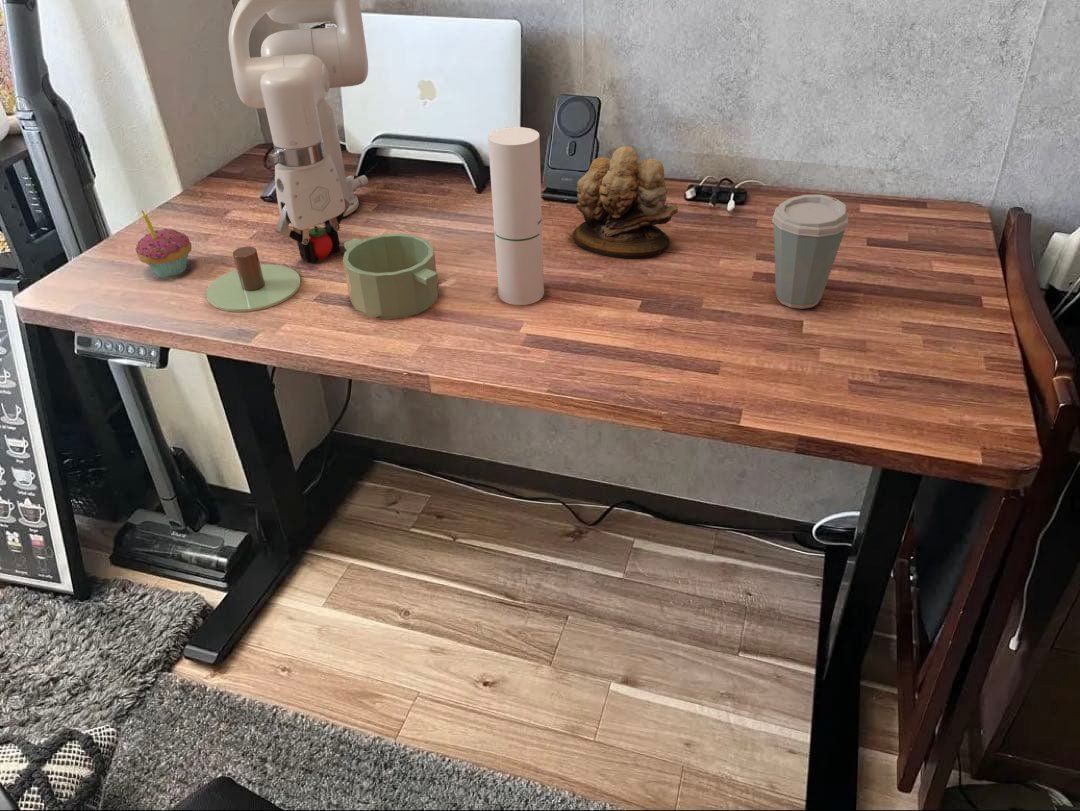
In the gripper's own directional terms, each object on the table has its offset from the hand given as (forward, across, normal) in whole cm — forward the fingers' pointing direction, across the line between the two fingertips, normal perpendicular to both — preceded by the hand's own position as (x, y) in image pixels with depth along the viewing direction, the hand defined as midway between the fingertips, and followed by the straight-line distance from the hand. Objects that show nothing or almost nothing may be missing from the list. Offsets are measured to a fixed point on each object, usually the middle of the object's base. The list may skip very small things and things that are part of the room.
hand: (321, 256), depth 144 cm
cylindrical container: (+1, +12, -35) cm, 37 cm away
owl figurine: (+1, +36, -37) cm, 52 cm away
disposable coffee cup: (+1, +37, -69) cm, 78 cm away
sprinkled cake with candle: (+1, -19, +16) cm, 25 cm away
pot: (0, -1, -20) cm, 20 cm away
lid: (0, -14, -1) cm, 14 cm away
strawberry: (0, 0, 0) cm, 0 cm away
